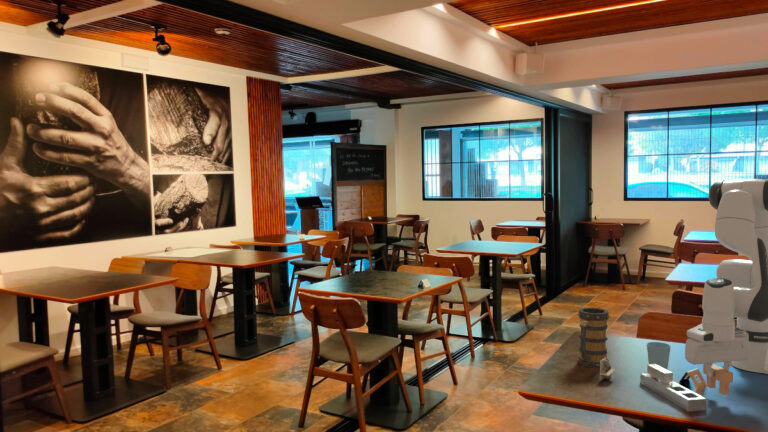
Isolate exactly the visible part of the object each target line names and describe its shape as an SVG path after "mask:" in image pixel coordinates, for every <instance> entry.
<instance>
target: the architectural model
mask: <svg viewBox="0 0 768 432" xmlns="http://www.w3.org/2000/svg"><path fill="white" fill-rule="evenodd" d="M615 371H616V369H613V368H612V364H610V363H609V361H607V360H606V357H605V358H604V359H602V360H601V361H600V368H599V382H602V381H603V380H604V379H605V380H609V379H611V378H612V374H613V373H614V372H615Z"/></svg>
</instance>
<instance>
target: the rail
mask: <svg viewBox="0 0 768 432" xmlns="http://www.w3.org/2000/svg"><path fill="white" fill-rule="evenodd" d="M646 366H647V370H646V371H647V372H643V373H640V374H639V375H640V379H639V380H640V382H639V383H640V385H642V386H644V387H646V388H647V389H649V390H650V391H652V392H653V393H656V395H659V396H660V397H662V398H664V399H665V400H666V401H667V400H668V401H669V402H671V403H672V402H673V403H672V404H675V405H676V406H677V407H679V408H681V409H683V410H685V411H686V412H688V413H689V412H700V411H702V412H703V411H707V398H706V397H704V396H702V395H700V394H699V393H697V392H695V391H694V390H690V389H689V388H687V387H685V386H683V385H681V383H678V382H676V381H673V380H674V377H673V376H674V372H673V371H670V370H669V369H665V368H663V367H661V366H659V365H657V364H649V363H648V364H647V365H646Z"/></svg>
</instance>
